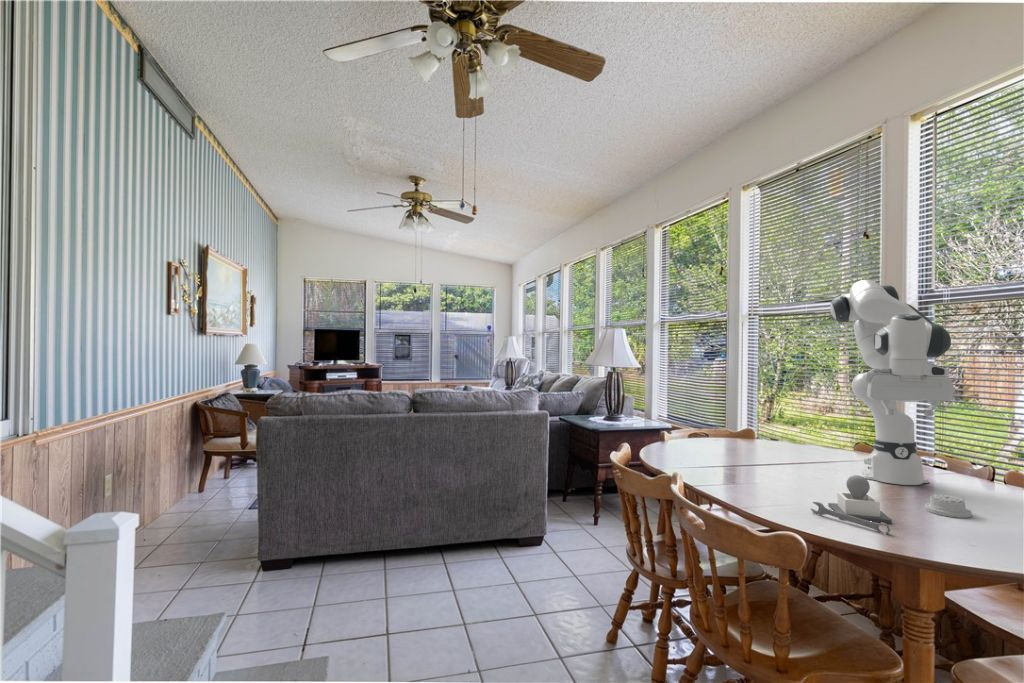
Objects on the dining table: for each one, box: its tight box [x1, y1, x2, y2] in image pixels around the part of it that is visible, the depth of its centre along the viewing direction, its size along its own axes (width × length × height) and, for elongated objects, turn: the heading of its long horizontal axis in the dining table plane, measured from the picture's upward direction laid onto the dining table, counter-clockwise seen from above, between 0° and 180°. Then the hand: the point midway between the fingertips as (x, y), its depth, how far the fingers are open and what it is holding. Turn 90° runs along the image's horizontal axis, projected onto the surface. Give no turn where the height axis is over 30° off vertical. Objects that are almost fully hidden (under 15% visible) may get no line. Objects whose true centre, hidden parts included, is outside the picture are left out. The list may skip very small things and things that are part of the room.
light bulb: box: [845, 474, 871, 500], centre depth 140 cm, size 5×6×10 cm
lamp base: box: [827, 491, 893, 524], centre depth 140 cm, size 12×12×5 cm
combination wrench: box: [810, 501, 891, 535], centre depth 133 cm, size 4×1×20 cm
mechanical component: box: [924, 494, 973, 519], centre depth 141 cm, size 10×4×10 cm
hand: (909, 415), depth 145 cm, fingers open, 8 cm apart
